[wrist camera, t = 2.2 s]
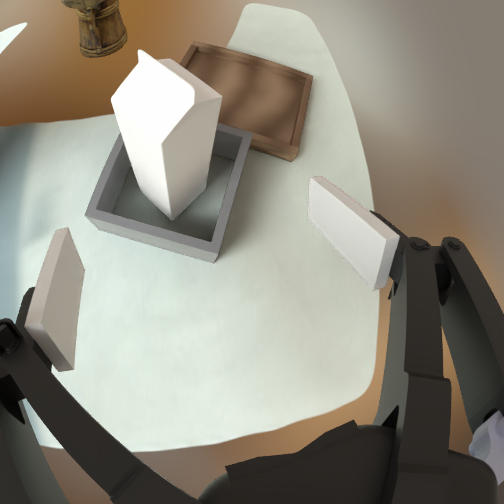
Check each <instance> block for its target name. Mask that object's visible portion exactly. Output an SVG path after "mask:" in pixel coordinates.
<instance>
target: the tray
mask: <svg viewBox="0 0 504 504" xmlns="http://www.w3.org/2000/svg"><path fill="white" fill-rule="evenodd" d="M180 65H181V66H182V67H183V68H185V69H186V70H188V71H189V72H190V73H192V74H193V75H195V76H196V77H197V78H199V79H200V80H201V81H203V82H204V83H206V84H207V85H208V86H210V87H211V88H212V89H214V90H215V91H216V92H217V93H219V94H220V95H221V96H222V102H221V107H220V112H219V117H218V122H217V123H220V124H223V125H227V126H230V127H234V128H237V129H241V130H244V131H247V132H251V133H253V136H252V139H251V143H250V146H249V148H250V149H254V150H257V151H260V152H263V153H266V154H269V155H272V156H275V157H278V158H281V159H284V160H287V161H290V162H292V161H293V159H294V158H295V157H296V155H297V154H298V149H299V144H300V139H301V134H302V130H303V125H304V120H305V115H306V110H307V105H308V100H309V95H310V90H311V85H312V80H313V76H311V75H309V74H306V73H303V72H301V71H298V70H295V69H292V68H290V67H287V66H284V65H281V64H278V63H275V62H272V61H268V60H265V59H262V58H259V57H255V56H252V55H248V54H245V53H241V52H238V51H234V50H230V49H226V48H221V47H217V46H213V45H209V44H204V43H200V42H193V43H192V45H191V46H190V48H189V50H188V51H187V53H186V55H185V56H184V58H183V60H182V61H181V63H180Z"/></svg>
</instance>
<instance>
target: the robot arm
mask: <svg viewBox="0 0 504 504" xmlns="http://www.w3.org/2000/svg"><path fill="white" fill-rule="evenodd" d="M308 221H309V222H310V223H311V224H312V225H313V226H314V227H315V228H316V229H317V230H318V231H319V232H320V233H321V234H322V235H323V237H324V238H325V239H326V240H327V241H328V242H329V243H330V244H331V245H332V246H333V247H334V248H335V249H336V250H337V251H338V253H339V254H340V255H341V256H342V257H343V258H344V259H345V260H346V261H347V262H348V263H349V265H350V266H351V267H352V268H353V269H354V270H355V271H356V272H357V273H358V274H359V276H360V277H361V278H362V279H363V280H364V281H365V282H366V283H367V285H368V286H369V287H370V288H371V289H372V290H373V291H374V290H377V289H380V288H382V287H385V286H386V284H387V280H388V277H389V276H390V277H391V278H392V279H393V280H394V282H393V285H392V288H391V291H390V294H389V297H388V299H390V298H391V310H390V323H389V335H388V345H387V354H386V362H385V370H384V377H383V384H382V390H381V396H380V402H379V408H378V412H377V415H376V417H375V419H374V422H373V425H359V426H357V424H356V423H355V421H354V420H352V421H350V422H348V423H346V424H343V425H341V426H339V427H336V428H334V429H332V430H330V431H328V432H325V433H324V434H322V435H321V436H320V437H318V438H317V439H316V440H314V441H313V442H312V443H310V444H309V445H307V446H306V447H304V448H303V449H302V450H300V451H298V452H296V453H292V454H283V455H275V456H263V457H256V458H253V459H250V460H246V461H243V462H239V463H236V464H232V465H228V466H225V468H226V471H227V473H225V474H223V475H221V476H220V477H218V478H217V479H215V480H214V481H213V482H212V483H210V484H209V485H208V486H207V487H206V488H205V490H204V491H203V492H202V494H201V495H200V497H199V498H198V500H197V499H195V498H193V497H192V496H190V495H189V494H187V493H186V492H184V491H183V490H181V489H180V488H178V487H177V486H175V485H174V484H172V483H171V482H169V481H168V480H167V479H165V478H164V477H163V476H161V475H160V474H159V473H157V472H156V471H155V470H153V469H152V468H151V467H149V466H148V465H146V464H145V463H144V462H143V461H142V460H140V459H139V458H138V457H137V456H135V455H134V454H133V453H132V452H131V451H129V450H128V449H127V448H126V447H125V446H123V445H122V444H121V443H120V442H119V441H118V440H117V439H115V438H114V437H113V436H112V435H111V434H110V433H109V432H108V431H107V430H106V429H104V428H103V427H102V426H101V425H100V424H99V423H98V422H97V421H96V420H95V419H94V418H93V417H92V416H91V415H90V414H89V413H88V412H87V411H86V410H85V409H84V408H83V407H82V406H81V405H80V404H79V403H78V402H77V401H76V400H75V399H74V397H73V396H72V395H71V394H70V393H69V392H68V391H67V390H66V389H65V388H64V386H63V385H62V384H61V383H60V382H59V381H58V380H57V378H56V377H55V376H54V375H53V374H52V373H51V368H52V364H53V366H54V367H55V368H56V369H57V371H58V372H62V371H68V370H74V362H75V347H76V335H77V324H78V315H79V307H80V299H81V292H82V285H83V279H84V273H85V269H84V266H83V264H82V262H81V259H80V257H79V254H78V252H77V249H76V247H75V244H74V242H73V239H72V236H71V234H70V231H69V228H68V227H67V228H63V229H60V230H56V231H55V233H54V236H53V238H52V241H51V243H50V246H49V249H48V251H47V254H46V257H45V260H44V262H43V265H42V268H41V271H40V274H39V277H38V280H37V284H36V287H32V288H29V289H28V291H27V292H26V294H25V295H24V297H23V300H22V303H21V307H20V310H19V314H18V317H17V320H16V324H14V323H13V321H12V320H11V319H8V318H4V319H1V320H0V504H70V503H69V502H68V500H67V498H66V497H65V495H64V493H63V491H62V490H61V488H60V486H59V484H58V482H57V480H56V478H55V477H54V475H53V473H52V471H51V469H50V467H49V465H48V463H47V461H46V458H45V456H44V454H43V452H42V450H41V448H40V445H39V443H38V441H37V438H36V436H35V433H34V431H33V429H32V426H31V423H30V421H29V418H28V415H27V413H26V410H25V407H24V404H23V401H22V400H23V399H25V398H26V399H27V401H28V402H29V403H30V405H31V406H32V408H33V409H34V411H35V412H36V413H37V415H38V416H39V417H40V419H41V420H42V421H43V423H44V424H45V425H46V427H47V428H48V429H49V430H50V432H51V433H52V434H53V435H54V437H55V438H56V439H57V440H58V442H59V443H60V444H61V445H62V446H63V448H64V449H65V450H66V451H67V452H68V453H69V454H70V456H71V457H72V458H73V459H74V460H75V461H76V462H77V463H78V464H79V465H80V466H81V468H82V469H83V470H84V471H85V472H86V473H87V474H88V475H89V476H90V477H91V478H92V479H93V480H94V481H95V482H96V483H97V484H98V485H99V486H100V487H101V488H102V489H104V490H105V491H106V492H107V493H108V494H109V496H110V500H111V501H112V502H113V503H114V504H499V499H498V485H499V484H500V483H501V482H502V481H503V480H504V314H503V312H502V310H501V308H500V306H499V304H498V302H497V300H496V298H495V296H494V294H493V292H492V291H491V289H490V287H489V285H488V283H487V281H486V280H485V278H484V276H483V275H482V272H481V271H480V269H479V267H478V266H477V264H476V262H475V261H474V259H473V257H472V256H471V254H470V252H469V251H468V249H467V248H466V246H465V245H464V244H463V243H462V242H461V241H459V239H457V238H454V237H445V238H443V240H442V243H441V246H431V245H430V244H429V243H428V242H427V241H425V240H423V239H421V238H418V237H410V238H408V237H407V236H406V235H405V234H403V233H402V232H401V231H400V230H398V229H397V228H396V227H394V225H392V224H391V223H390V222H389V221H386V219H385V218H383V217H382V216H381V215H380V214H378V213H375V212H373V211H371V210H370V211H368V210H367V209H366V208H364V207H363V206H362V205H361V204H359V203H358V202H357V201H355V200H354V199H353V198H352V197H350V196H349V195H348V194H346V193H345V192H344V191H342V190H341V189H340V188H338V187H337V186H336V185H334V184H333V183H331V182H330V181H329V180H327V179H326V178H325V177H323V176H315V177H310V189H309V207H308ZM453 281H454V283H453ZM441 325H442V328H443V331H444V334H445V337H446V340H447V343H448V346H449V349H450V353H451V357H452V360H453V364H454V367H455V370H456V374H457V378H458V382H459V386H460V390H461V394H462V399H463V403H464V407H465V412H466V415H467V419H468V423H469V425H470V428H471V431H472V433H473V442H472V443H471V444H470V446H469V453H470V454H471V455H472V456H475V457H472V456H468V455H465V454H462V453H459V452H455V451H452V450H449V449H448V448H449V436H450V421H451V382H450V380H449V379H448V378H444V376H443V347H442V328H441Z"/></svg>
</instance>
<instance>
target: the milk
mask: <svg viewBox="0 0 504 504" xmlns="http://www.w3.org/2000/svg"><path fill="white" fill-rule="evenodd" d="M138 59H139V63H138V64H137V65H136V67H135V68H134V69H133V70H132V72H131V73H130V74H129V75H128V77H127V78H126V79H125V80H124V82H123V83H122V84H121V86H120V87H119V88H118V89H117V91H116V92H115V93H114V95H113V96H112V98H111V102H112V105H113V109H114V112H115V115H116V119H117V122H118V125H119V128H120V132H121V135H122V138H123V141H124V144H125V147H126V150H127V153H128V156H129V159H130V162H131V165H132V168H133V171H134V174H135V177H136V179H137V182H138V185H139V188H140V190H141V192H142V193H143V194H144V195H145V196H146V197H147V198H149V199H150V200H151V201H152V202H153V203H154V204H155V205H156V206H157V207H158V208H159V209H160V210H161V211H162V212H163V213H164V214H165V215H166V216H167V217H168V218H169V219H170V220H171V221H173V220H174V219H175V218H176V217H177V216H178V215H179V214H180V213H181V212H182V211H183V210H184V209H186V208H187V207H188V206H189V205H190V204H191V203H192V202H193V201H194V200H195V199H196V198H197V197H198V196H199V195H200V194H201V193H202V192H203V191H204V190H205V189H206V183H207V177H208V171H209V165H210V160H211V154H212V148H213V143H214V138H215V132H216V127H217V122H218V117H219V112H220V107H221V102H222V96H221V95H220V94H219V93H217V92H216V91H215V90H214V89H212V88H211V87H210V86H208V85H207V84H206V83H204V82H203V81H201V80H200V79H199V78H197V77H196V76H195V75H193V74H192V73H190V72H189V71H188V70H186V69H185V68H183V67H182V66H181V65H179V64H178V63H176V62H175V61H173V60H172V59H159V60H156V59H154V58H153V57H151V56H150V55H148V54H147V53H146V52H144V51H143V50H141V49H140V50H138Z"/></svg>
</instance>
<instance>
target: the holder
mask: <svg viewBox="0 0 504 504" xmlns="http://www.w3.org/2000/svg"><path fill="white" fill-rule="evenodd" d="M252 136H253V133H251V132H247V131H244V130H241V129H237V128H234V127H230V126H227V125H223V124H220V123H217V127H216V132H215V138H214V143H213V148H212V154H215V155H219V156H222V157H226V158H229V159H232V160H235V163H234V166H233V169H232V172H231V176H230V179H229V182H228V185H227V189H226V192H225V195H224V199H223V202H222V205H221V209H220V212H219V216H218V219H217V222H216V226H215V229H214V233H213V236H212V240H211V242H208V241H205V240H201V239H198V238H194V237H191V236H187V235H184V234H180V233H177V232H174V231H170V230H167V229H163V228H160V227H156V226H153V225H149V224H146V223H142V222H139V221H135V220H132V219H128V218H125V217H121V216H118V215H114V214H112V213H113V210H114V208H115V205H116V202H117V200H118V197H119V194H120V192H121V189H122V187H123V184H124V182H125V179H126V177H127V175H128V172H129V170H130V167H131V162H130V159H129V156H128V153H127V150H126V147H125V144H124V141H123V138H122V135H121V132H120V134H119V136H118V138H117V140H116V142H115V144H114V147H113V149H112V151H111V153H110V155H109V157H108V159H107V162H106V164H105V166H104V168H103V171H102V173H101V175H100V178H99V180H98V182H97V185H96V187H95V190H94V192H93V195H92V197H91V200H90V202H89V205H88V208H87V210H86V213H85V217H86V218H88V219H89V220H90V221H91V222H92V223H93V224H94V225H95V226H96V227H97V228H98V229H99V230H102V231H105V232H108V233H112V234H115V235H118V236H122V237H125V238H128V239H132V240H135V241H138V242H142V243H145V244H149V245H152V246H156V247H159V248H162V249H166V250H169V251H173V252H176V253H180V254H183V255H187V256H190V257H194V258H197V259H201V260H204V261H208V262H211V263H214V262H215V260H216V258H217V256H218V254H219V250H220V247H221V243H222V239H223V236H224V232H225V229H226V225H227V221H228V218H229V214H230V211H231V207H232V204H233V200H234V197H235V193H236V190H237V186H238V183H239V180H240V176H241V173H242V169H243V166H244V163H245V159H246V156H247V153H248V149H249V146H250V143H251V139H252Z"/></svg>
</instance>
